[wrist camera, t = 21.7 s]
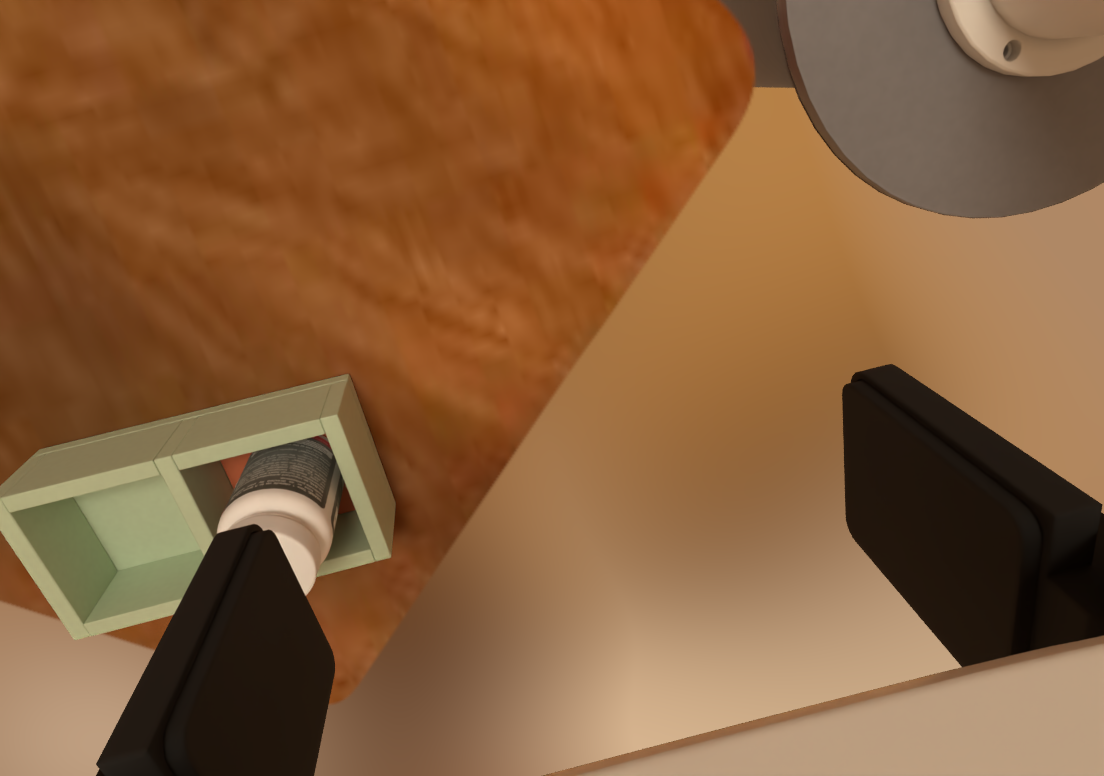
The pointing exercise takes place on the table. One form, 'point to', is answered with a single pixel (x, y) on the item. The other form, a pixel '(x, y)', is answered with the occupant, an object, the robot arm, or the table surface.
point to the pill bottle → (291, 501)
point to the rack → (178, 502)
